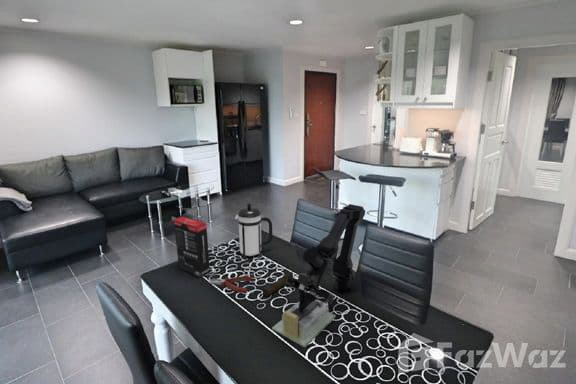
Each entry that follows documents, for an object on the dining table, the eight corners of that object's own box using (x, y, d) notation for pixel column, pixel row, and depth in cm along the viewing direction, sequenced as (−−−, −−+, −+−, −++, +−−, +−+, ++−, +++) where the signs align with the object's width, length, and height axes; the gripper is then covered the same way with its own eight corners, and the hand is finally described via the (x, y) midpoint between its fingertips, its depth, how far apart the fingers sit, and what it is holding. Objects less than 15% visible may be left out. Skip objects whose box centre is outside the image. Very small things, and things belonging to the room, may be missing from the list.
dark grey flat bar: (310, 299, 126) (310, 297, 126) (319, 303, 124) (319, 301, 124) (289, 316, 116) (289, 314, 116) (297, 320, 113) (297, 318, 113)
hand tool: (268, 298, 138) (268, 289, 136) (262, 295, 140) (261, 285, 139) (296, 281, 151) (297, 272, 150) (290, 278, 154) (290, 270, 152)
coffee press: (254, 263, 168) (252, 209, 160) (231, 255, 176) (229, 204, 169) (273, 251, 182) (272, 201, 174) (251, 244, 190) (250, 197, 183)
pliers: (214, 276, 156) (214, 271, 155) (253, 281, 152) (253, 276, 151) (204, 289, 145) (204, 284, 144) (246, 294, 141) (246, 289, 140)
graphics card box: (211, 272, 159) (207, 221, 152) (200, 278, 153) (196, 226, 146) (188, 263, 168) (183, 215, 161) (177, 269, 162) (172, 219, 155)
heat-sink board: (304, 302, 134) (305, 284, 132) (335, 317, 125) (336, 297, 123) (272, 329, 118) (271, 308, 116) (304, 347, 109) (305, 325, 107)
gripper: (289, 257, 123) (270, 295, 117) (330, 272, 111) (312, 315, 106) (300, 268, 131) (284, 304, 125) (340, 283, 119) (324, 323, 114)
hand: (299, 311), depth 117 cm, fingers closed, pressing on dark grey flat bar
